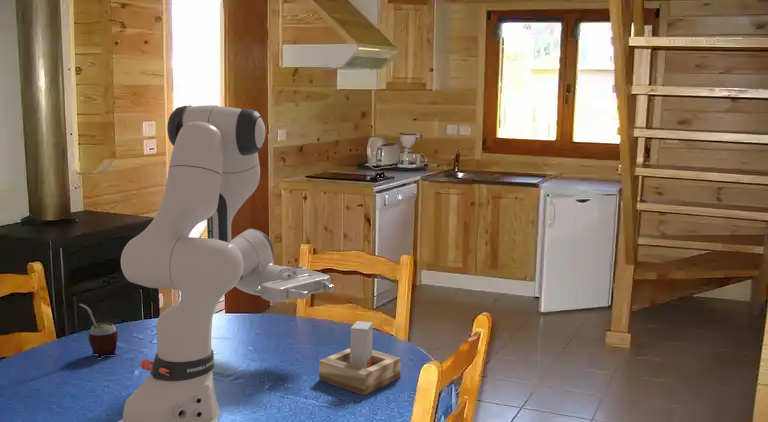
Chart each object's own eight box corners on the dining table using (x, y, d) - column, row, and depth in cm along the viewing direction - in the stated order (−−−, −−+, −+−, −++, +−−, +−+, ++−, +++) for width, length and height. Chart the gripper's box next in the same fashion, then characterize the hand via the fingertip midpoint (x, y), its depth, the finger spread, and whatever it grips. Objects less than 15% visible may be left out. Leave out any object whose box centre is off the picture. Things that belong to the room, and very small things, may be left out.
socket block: (364, 395, 175) (364, 374, 174) (319, 380, 183) (319, 360, 182) (400, 377, 185) (400, 358, 185) (356, 364, 194) (356, 345, 193)
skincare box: (366, 377, 181) (367, 329, 179) (349, 376, 182) (349, 328, 180) (372, 368, 187) (373, 322, 185) (355, 367, 188) (356, 320, 186)
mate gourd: (122, 351, 200) (120, 296, 198) (109, 362, 193) (106, 304, 190) (95, 349, 201) (93, 295, 199) (81, 360, 193) (78, 303, 191)
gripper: (250, 277, 189) (289, 286, 180) (307, 265, 205) (346, 273, 196) (250, 302, 189) (289, 312, 181) (306, 288, 205) (345, 297, 197)
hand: (319, 292), depth 189 cm, fingers open, 8 cm apart
